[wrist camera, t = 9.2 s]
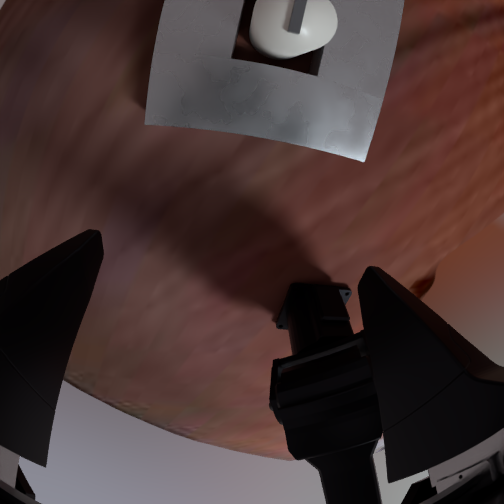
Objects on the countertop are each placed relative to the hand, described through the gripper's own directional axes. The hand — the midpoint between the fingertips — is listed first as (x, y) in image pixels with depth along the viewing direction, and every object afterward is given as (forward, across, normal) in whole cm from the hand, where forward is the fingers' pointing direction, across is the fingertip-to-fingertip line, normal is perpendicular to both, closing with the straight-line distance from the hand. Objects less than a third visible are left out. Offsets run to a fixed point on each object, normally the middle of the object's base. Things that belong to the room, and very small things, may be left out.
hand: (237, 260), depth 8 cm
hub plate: (+12, -1, -9) cm, 15 cm away
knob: (+12, -1, -9) cm, 15 cm away
